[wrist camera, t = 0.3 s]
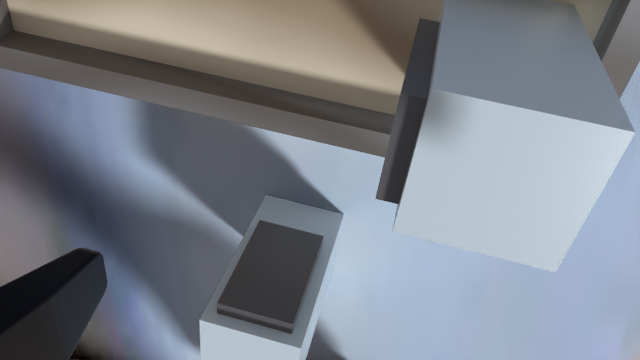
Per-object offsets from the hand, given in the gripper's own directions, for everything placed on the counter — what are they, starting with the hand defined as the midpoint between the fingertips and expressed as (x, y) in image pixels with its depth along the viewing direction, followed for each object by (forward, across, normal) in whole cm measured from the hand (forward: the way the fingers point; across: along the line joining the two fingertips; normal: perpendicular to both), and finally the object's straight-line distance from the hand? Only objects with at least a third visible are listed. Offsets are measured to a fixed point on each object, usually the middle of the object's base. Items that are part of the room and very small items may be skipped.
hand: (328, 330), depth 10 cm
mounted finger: (+12, -3, -2) cm, 12 cm away
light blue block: (+14, +3, +10) cm, 18 cm away
